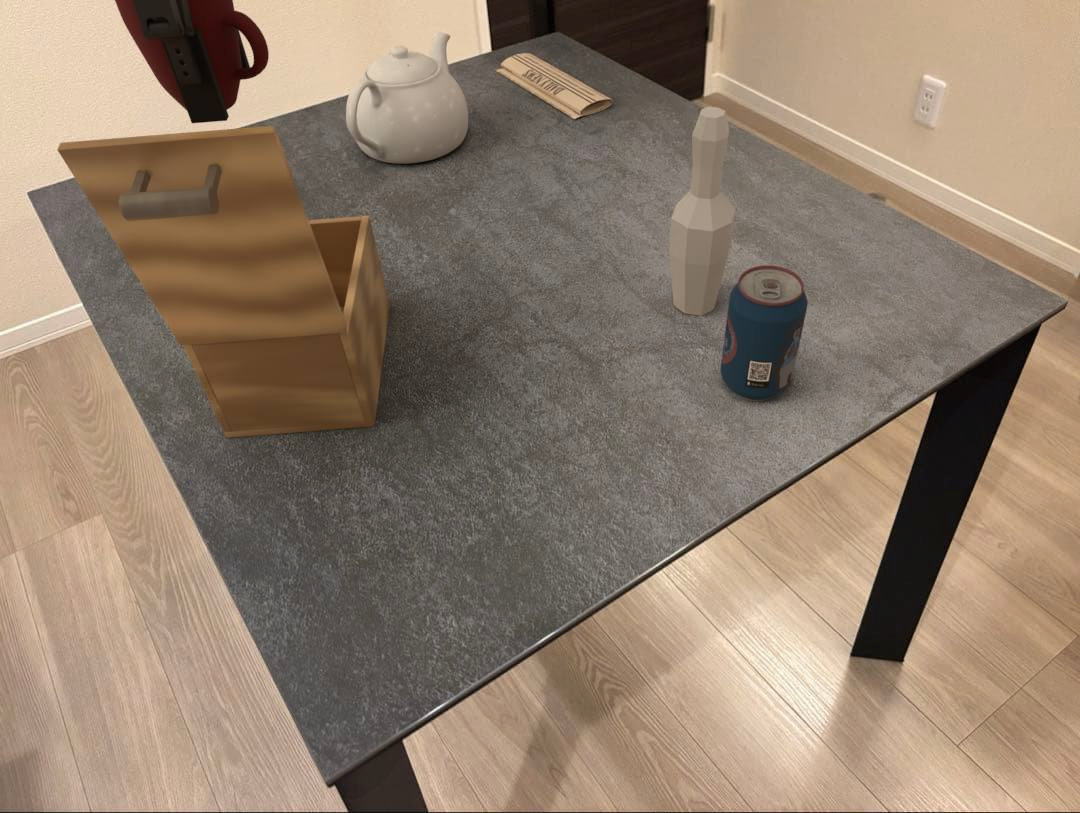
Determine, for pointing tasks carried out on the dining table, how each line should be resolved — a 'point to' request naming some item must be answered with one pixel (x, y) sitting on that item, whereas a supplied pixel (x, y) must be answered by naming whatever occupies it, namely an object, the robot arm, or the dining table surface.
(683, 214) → the faceted bottle
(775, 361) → the soda can
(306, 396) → the chest
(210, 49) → the mug
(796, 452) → the dining table surface
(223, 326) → the lid
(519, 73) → the newspaper
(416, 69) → the teapot
